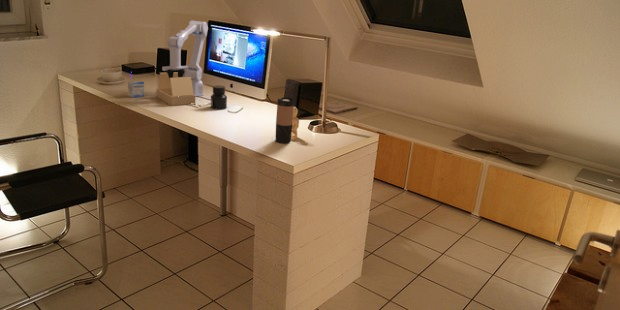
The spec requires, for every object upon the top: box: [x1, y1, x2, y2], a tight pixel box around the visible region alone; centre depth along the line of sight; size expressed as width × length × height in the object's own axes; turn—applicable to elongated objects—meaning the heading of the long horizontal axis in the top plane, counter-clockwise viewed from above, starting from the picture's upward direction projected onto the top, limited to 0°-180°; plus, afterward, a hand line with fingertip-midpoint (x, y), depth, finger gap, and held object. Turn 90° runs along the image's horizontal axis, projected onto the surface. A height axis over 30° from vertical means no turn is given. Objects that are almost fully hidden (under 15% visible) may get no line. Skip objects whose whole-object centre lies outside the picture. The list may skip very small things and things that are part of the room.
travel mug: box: [275, 97, 295, 144], centre depth 222 cm, size 8×8×20 cm
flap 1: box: [157, 71, 178, 89], centre depth 281 cm, size 10×12×1 cm
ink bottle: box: [210, 84, 228, 110], centre depth 270 cm, size 10×9×12 cm
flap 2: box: [170, 76, 194, 96], centre depth 269 cm, size 10×12×1 cm
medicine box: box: [127, 80, 145, 99], centre depth 278 cm, size 8×4×9 cm, turn 143°
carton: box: [156, 88, 196, 107], centre depth 278 cm, size 14×22×5 cm, turn 38°
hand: (175, 82), depth 275 cm, fingers open, 4 cm apart
